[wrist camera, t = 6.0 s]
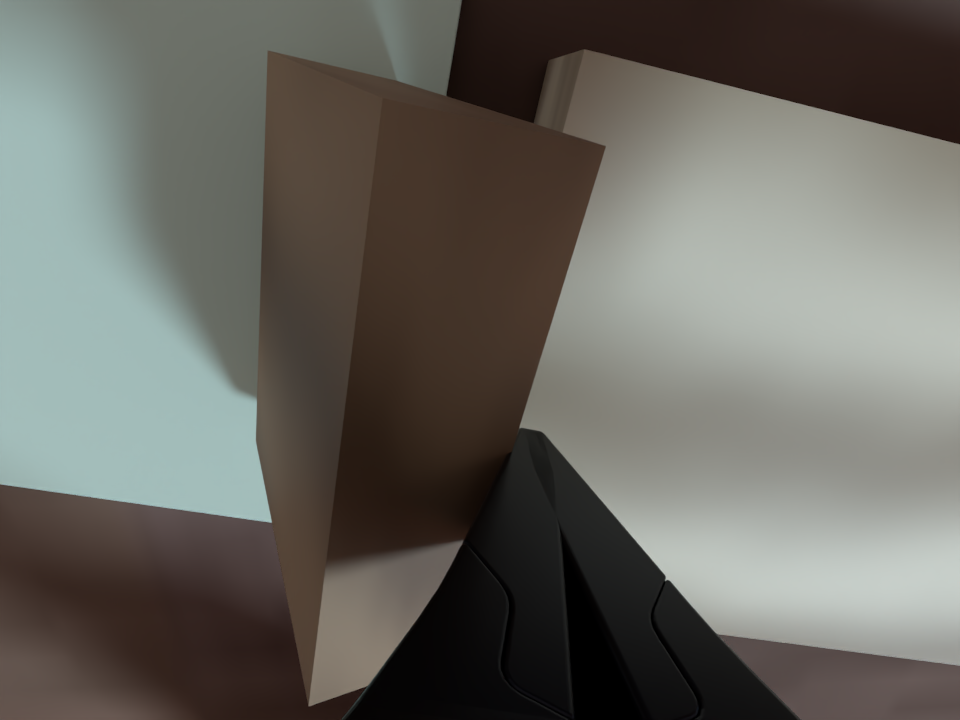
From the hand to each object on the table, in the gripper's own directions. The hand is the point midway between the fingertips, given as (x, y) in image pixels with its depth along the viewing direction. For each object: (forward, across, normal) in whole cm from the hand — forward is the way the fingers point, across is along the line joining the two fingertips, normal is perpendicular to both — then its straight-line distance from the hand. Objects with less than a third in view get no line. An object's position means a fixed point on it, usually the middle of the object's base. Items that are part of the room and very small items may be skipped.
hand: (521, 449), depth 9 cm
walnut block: (+2, +2, 0) cm, 3 cm away
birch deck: (+6, -7, 0) cm, 9 cm away
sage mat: (+5, +9, 0) cm, 10 cm away
